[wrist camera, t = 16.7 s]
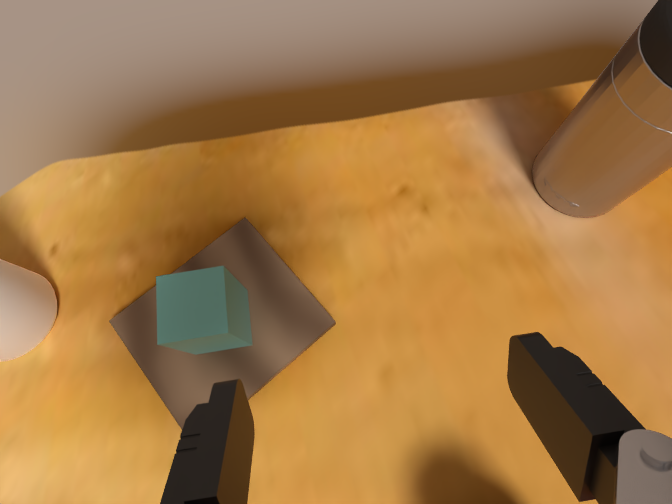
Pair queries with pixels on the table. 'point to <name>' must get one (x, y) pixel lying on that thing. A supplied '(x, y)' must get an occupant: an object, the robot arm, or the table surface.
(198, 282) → the tall teal pillar
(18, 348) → the alcohol
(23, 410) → the table surface
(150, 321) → the post board
